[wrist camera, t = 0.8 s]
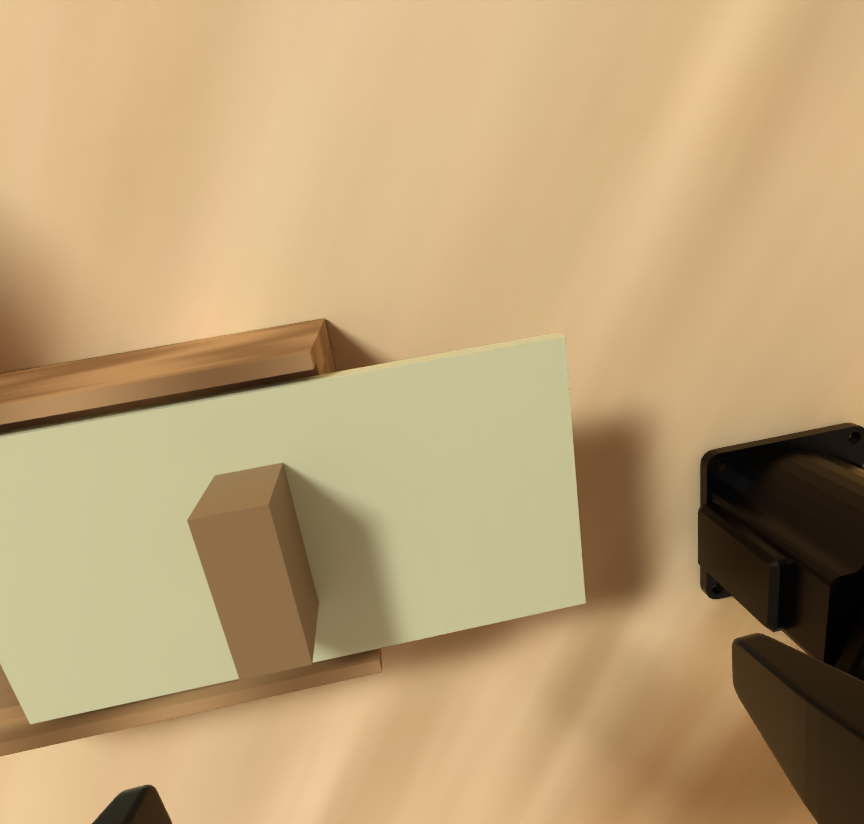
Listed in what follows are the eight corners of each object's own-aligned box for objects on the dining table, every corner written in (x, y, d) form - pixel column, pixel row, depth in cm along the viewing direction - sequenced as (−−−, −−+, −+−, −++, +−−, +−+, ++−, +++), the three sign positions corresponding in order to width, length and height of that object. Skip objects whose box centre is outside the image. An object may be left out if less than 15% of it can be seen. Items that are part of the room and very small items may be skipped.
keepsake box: (324, 318, 18) (310, 351, 12) (375, 556, 20) (382, 672, 15) (-204, 408, 17) (-484, 490, 11) (-74, 649, 19) (-246, 810, 14)
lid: (556, 332, 14) (604, 354, 11) (577, 590, 16) (621, 660, 13) (-82, 446, 12) (-202, 501, 10) (42, 705, 15) (-27, 807, 12)
